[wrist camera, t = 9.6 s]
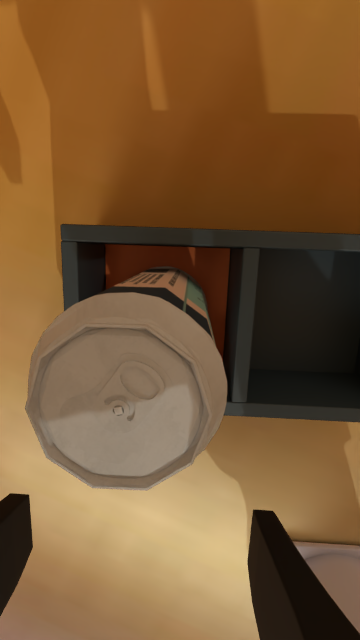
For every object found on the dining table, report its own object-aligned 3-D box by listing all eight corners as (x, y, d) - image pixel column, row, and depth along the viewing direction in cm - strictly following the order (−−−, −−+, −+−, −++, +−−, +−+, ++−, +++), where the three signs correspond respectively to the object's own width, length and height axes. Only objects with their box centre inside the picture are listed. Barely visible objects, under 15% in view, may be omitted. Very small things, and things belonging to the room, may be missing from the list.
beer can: (107, 315, 19) (-36, 428, 7) (155, 247, 18) (85, 248, 6) (173, 363, 19) (143, 544, 7) (224, 300, 18) (280, 394, 7)
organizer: (359, 381, 20) (413, 425, 15) (98, 369, 20) (68, 407, 15) (383, 239, 18) (454, 237, 13) (95, 229, 18) (59, 223, 14)
